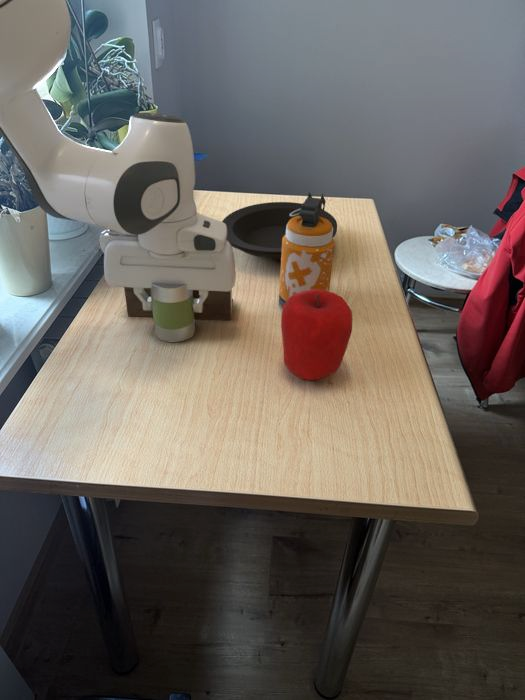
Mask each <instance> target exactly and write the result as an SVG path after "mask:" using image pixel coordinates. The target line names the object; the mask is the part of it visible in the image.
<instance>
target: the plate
mask: <svg viewBox="0 0 525 700" xmlns="http://www.w3.org/2000/svg"><path fill="white" fill-rule="evenodd" d="M302 204H303V203H300V202H292V201H291V202H290V201H273V202H263V203H256V204H251V205H247V206H244V207H241V208H239V209H237V210H234V211H232V212H231V213H229V214H227V215H226V216H225V217H224V218H223V219H222V220H221V222H224V223H225V224H226V226H227V241H228V242H229V243H230V244H231V246H232V248H234V249H236V250H239V251H241V252H244V253H245V254H248V255H250V256H255V257H260V258H266V259H276V260H281V253H282V238H283V236H284V235H286V225H287V224H288V222H289V220H290V219H292V218H293V217H296V216H299V215H296V216H290V213H292V212H293V211H295V210H298V209H301V205H302ZM299 211H300V210H299ZM299 211H296V212H294V213H293V214H291V215H294V214H297V213H299ZM323 218H325V219H327V220H328V221H330V222H331V224H332V227H333V236H332V238H333V239H334V238H335V236H336V234H337V232H338V222H337V220H336V218H335V217H334V216H333V215H332V214H331V213H330V212H328V211H326V210H324V215H323Z"/></svg>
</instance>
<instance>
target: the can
mask: <svg viewBox="0 0 525 700" xmlns="http://www.w3.org/2000/svg"><path fill="white" fill-rule="evenodd" d="M193 300H194V298H193V290H188V289H187V285H186V284H164V283H151V301H152V311H153V317H152V320H153V325H154V334H155V336H156V337H157V338H158V339H159V340H161V341H163V342H166V343H167V342H168V343H180V342H183V341H187V340H189V339H190V338H191V337H193V336H194V335H195V332H196V327H195V324H196V323H195V319H194V312H193V307H192V304H193V302H194V301H193Z"/></svg>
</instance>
